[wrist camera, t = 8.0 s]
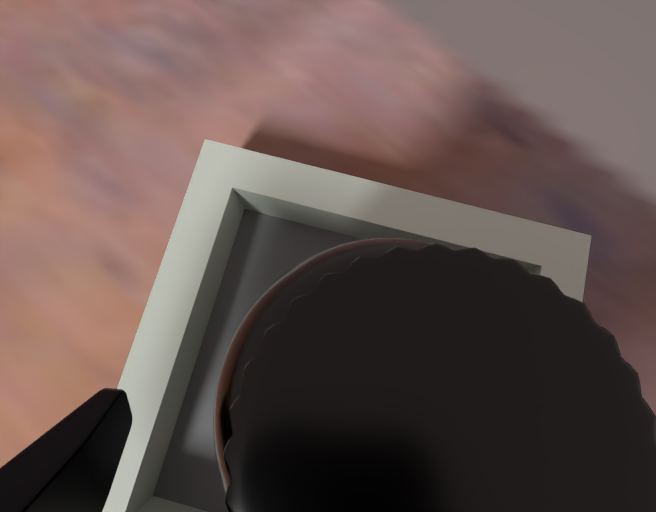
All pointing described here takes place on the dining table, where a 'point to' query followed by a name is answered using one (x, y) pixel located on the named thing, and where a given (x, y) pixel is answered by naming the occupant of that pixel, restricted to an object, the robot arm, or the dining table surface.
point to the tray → (254, 278)
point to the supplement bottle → (428, 392)
